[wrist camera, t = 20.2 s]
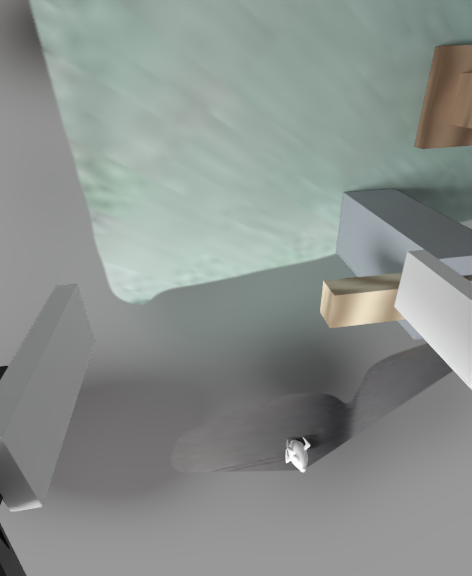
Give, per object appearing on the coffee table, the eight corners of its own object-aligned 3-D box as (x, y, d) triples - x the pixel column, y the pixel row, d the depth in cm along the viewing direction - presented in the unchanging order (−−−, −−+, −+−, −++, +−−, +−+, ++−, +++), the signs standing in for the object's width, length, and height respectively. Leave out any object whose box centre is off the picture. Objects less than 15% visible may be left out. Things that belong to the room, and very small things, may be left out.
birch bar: (320, 311, 39) (330, 328, 37) (323, 280, 37) (334, 296, 34) (531, 288, 42) (555, 302, 39) (546, 258, 40) (572, 270, 37)
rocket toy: (283, 436, 83) (292, 468, 76) (306, 433, 83) (317, 464, 76) (282, 450, 85) (291, 482, 78) (304, 447, 86) (314, 479, 79)
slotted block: (335, 252, 59) (414, 339, 39) (343, 192, 54) (437, 259, 34) (381, 247, 60) (480, 331, 40) (393, 188, 54) (513, 251, 35)
